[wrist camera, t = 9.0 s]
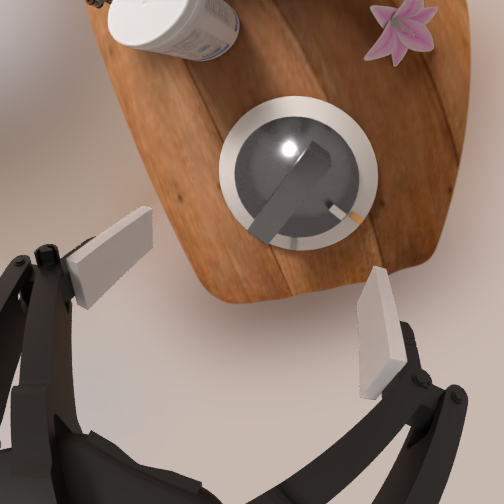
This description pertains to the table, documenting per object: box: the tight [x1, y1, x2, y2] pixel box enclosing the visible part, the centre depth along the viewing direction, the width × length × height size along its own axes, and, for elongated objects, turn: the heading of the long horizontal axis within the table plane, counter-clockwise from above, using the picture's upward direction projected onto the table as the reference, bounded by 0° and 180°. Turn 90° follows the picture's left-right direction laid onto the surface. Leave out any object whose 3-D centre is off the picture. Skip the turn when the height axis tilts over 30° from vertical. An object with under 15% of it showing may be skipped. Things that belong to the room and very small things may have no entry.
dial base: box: [219, 96, 378, 250], centre depth 34 cm, size 20×20×2 cm
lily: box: [364, 0, 438, 67], centre depth 20 cm, size 12×12×10 cm
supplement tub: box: [108, 0, 239, 61], centre depth 22 cm, size 10×10×15 cm
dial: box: [234, 116, 359, 245], centre depth 29 cm, size 15×15×9 cm
